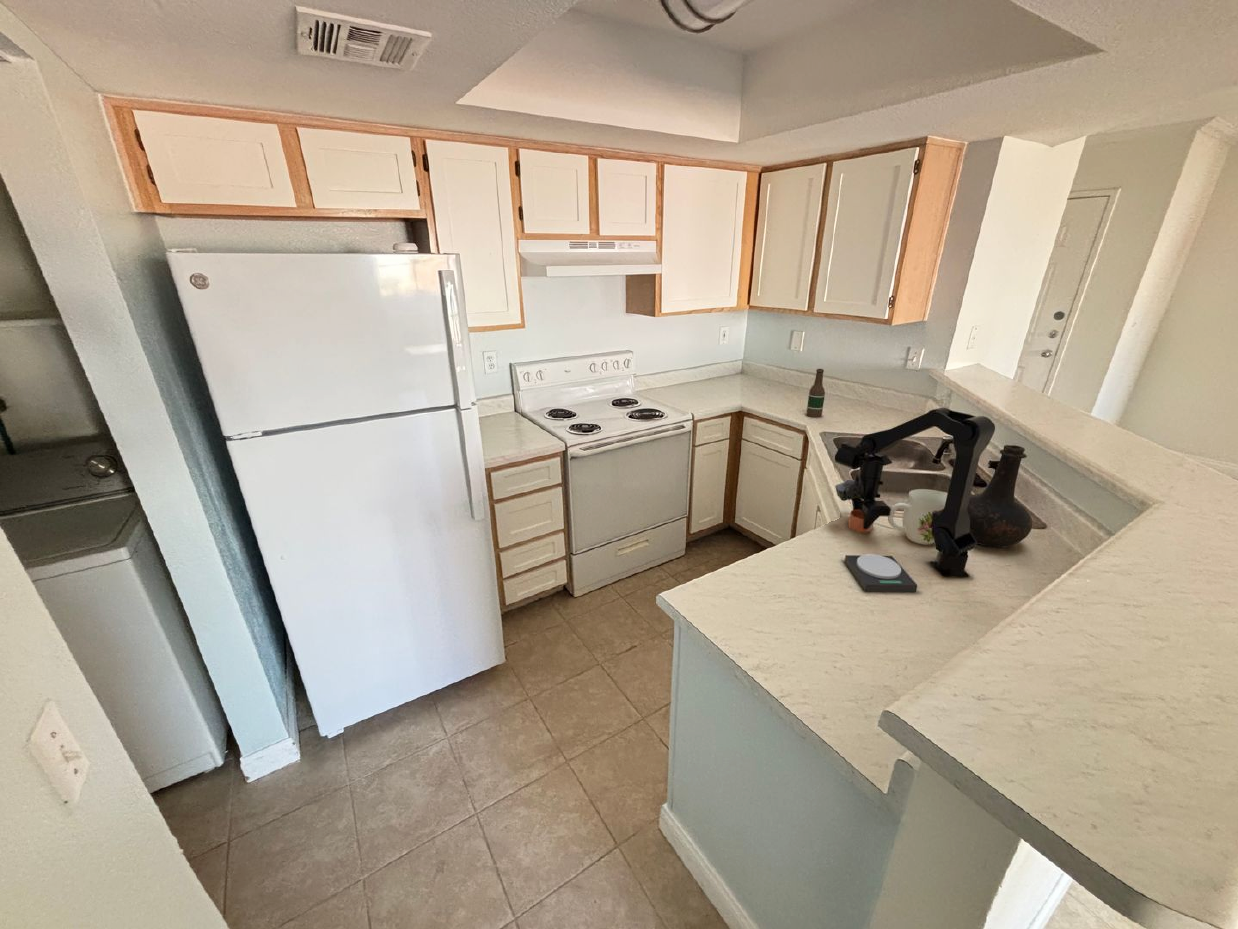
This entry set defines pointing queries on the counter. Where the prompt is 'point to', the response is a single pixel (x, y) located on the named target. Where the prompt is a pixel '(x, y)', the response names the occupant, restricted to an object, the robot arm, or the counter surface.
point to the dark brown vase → (1000, 505)
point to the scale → (880, 573)
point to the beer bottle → (816, 396)
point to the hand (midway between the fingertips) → (860, 523)
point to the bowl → (858, 521)
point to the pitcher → (919, 514)
